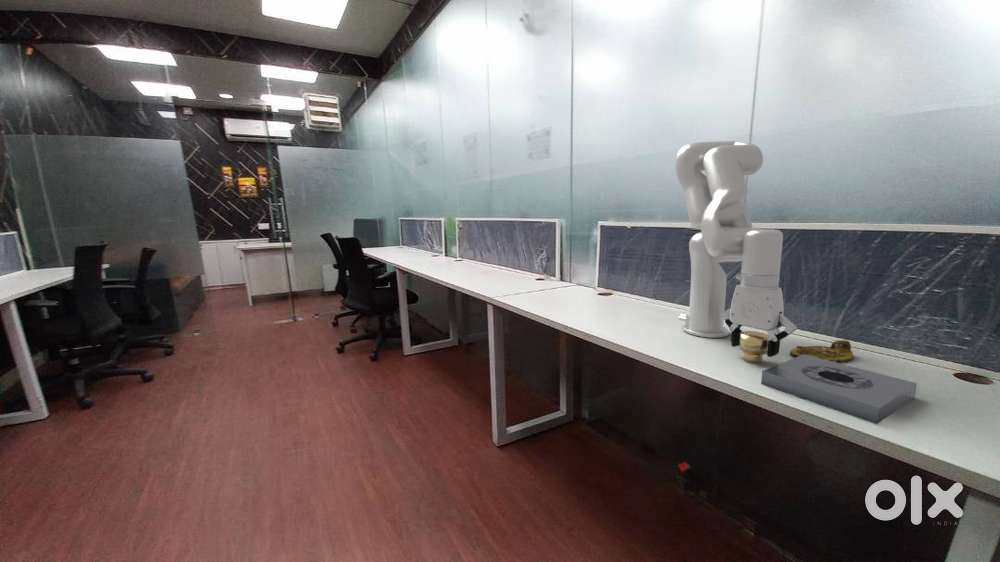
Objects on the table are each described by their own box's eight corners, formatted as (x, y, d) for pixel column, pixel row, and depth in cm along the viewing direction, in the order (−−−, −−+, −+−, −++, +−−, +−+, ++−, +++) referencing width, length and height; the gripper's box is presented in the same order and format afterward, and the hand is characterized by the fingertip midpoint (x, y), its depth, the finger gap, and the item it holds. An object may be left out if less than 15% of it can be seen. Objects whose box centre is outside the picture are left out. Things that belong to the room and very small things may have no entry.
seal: (808, 369, 86) (867, 365, 87) (812, 352, 85) (872, 348, 85) (777, 351, 95) (831, 348, 95) (780, 335, 94) (835, 332, 94)
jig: (761, 383, 77) (762, 370, 76) (802, 366, 85) (804, 354, 84) (877, 424, 61) (879, 408, 60) (914, 397, 69) (917, 383, 68)
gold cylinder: (732, 359, 90) (734, 333, 89) (746, 354, 93) (748, 329, 92) (758, 367, 85) (761, 340, 84) (772, 362, 88) (774, 335, 87)
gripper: (714, 278, 92) (709, 343, 95) (794, 287, 76) (786, 365, 79) (731, 275, 95) (726, 338, 98) (811, 284, 80) (803, 358, 83)
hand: (753, 350), depth 89 cm, fingers open, 7 cm apart
